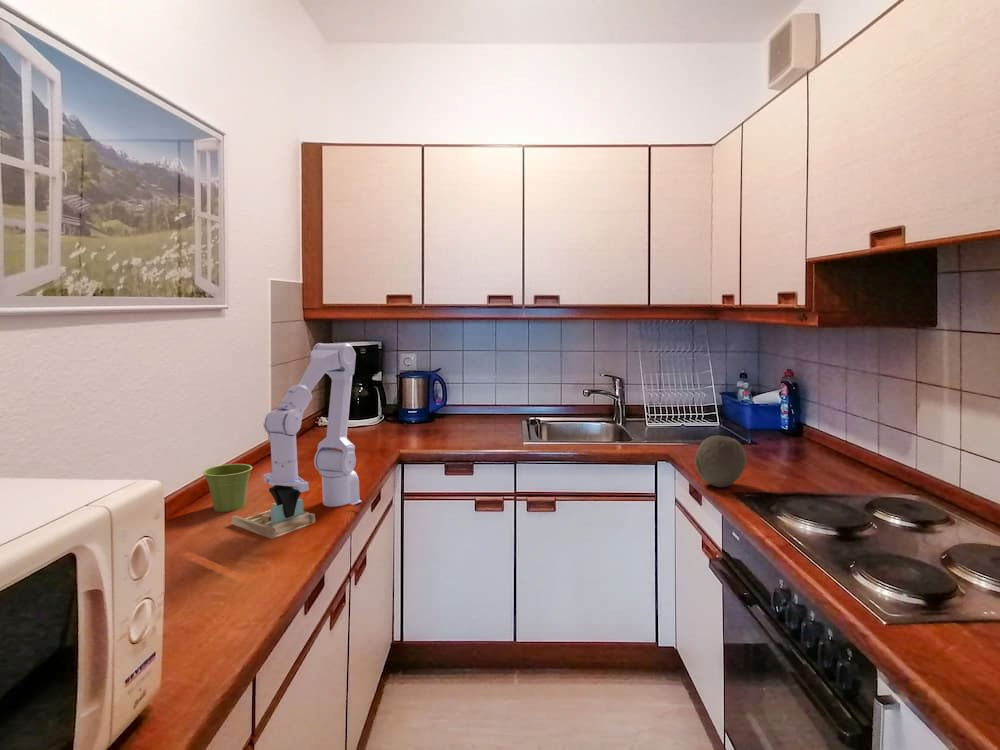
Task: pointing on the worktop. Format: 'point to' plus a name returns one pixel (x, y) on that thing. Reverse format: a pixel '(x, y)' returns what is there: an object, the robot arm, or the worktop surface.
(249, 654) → the worktop surface
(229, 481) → the plant pot
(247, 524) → the rack
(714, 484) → the cantaloupe
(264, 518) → the offcut upper
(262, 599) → the worktop surface
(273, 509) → the teal rectangular plate
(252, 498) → the worktop surface
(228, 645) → the worktop surface
